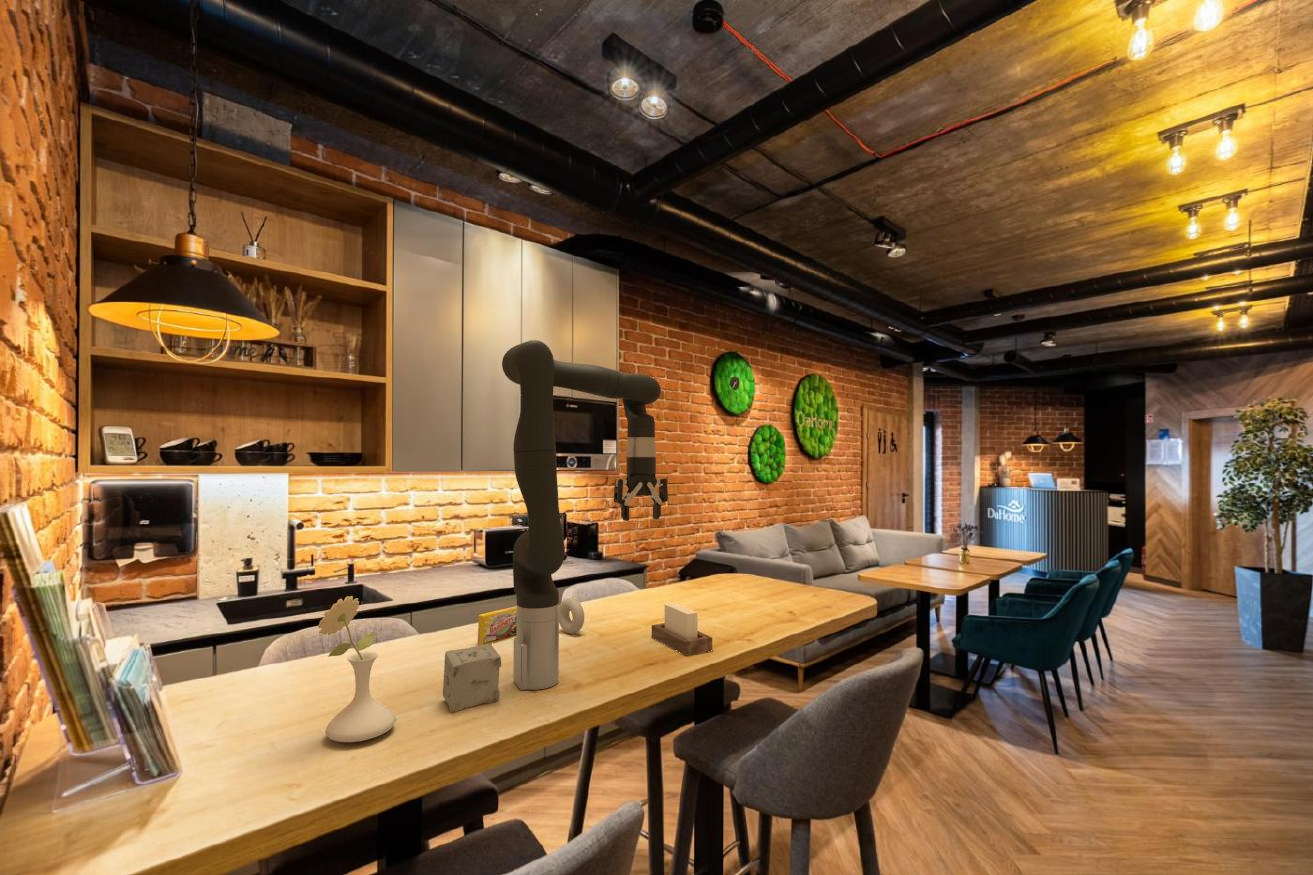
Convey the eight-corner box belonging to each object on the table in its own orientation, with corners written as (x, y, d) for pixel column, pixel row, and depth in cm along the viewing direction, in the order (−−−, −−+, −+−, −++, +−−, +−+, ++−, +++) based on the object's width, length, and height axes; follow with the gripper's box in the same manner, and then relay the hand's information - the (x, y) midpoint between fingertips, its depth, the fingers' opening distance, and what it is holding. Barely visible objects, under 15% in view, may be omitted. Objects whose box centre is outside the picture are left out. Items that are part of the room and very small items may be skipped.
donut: (587, 635, 166) (587, 599, 167) (577, 638, 164) (577, 601, 164) (564, 629, 173) (564, 594, 173) (555, 631, 170) (555, 596, 171)
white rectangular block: (687, 649, 152) (687, 614, 152) (664, 637, 162) (664, 604, 163) (697, 647, 153) (697, 612, 154) (674, 635, 164) (673, 603, 164)
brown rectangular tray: (685, 656, 148) (685, 642, 148) (651, 637, 164) (651, 625, 164) (712, 651, 152) (712, 637, 152) (676, 633, 168) (676, 621, 168)
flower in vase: (378, 715, 114) (380, 584, 115) (408, 732, 107) (410, 592, 108) (303, 739, 104) (307, 596, 105) (331, 760, 97) (334, 605, 98)
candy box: (481, 647, 156) (482, 615, 156) (476, 646, 157) (477, 614, 158) (529, 633, 169) (529, 604, 169) (524, 632, 170) (524, 603, 170)
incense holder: (452, 715, 114) (452, 661, 114) (441, 701, 121) (442, 649, 121) (502, 704, 119) (502, 652, 119) (489, 690, 126) (489, 641, 126)
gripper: (622, 455, 143) (622, 522, 142) (672, 455, 150) (673, 519, 149) (609, 455, 150) (609, 520, 149) (658, 456, 157) (658, 517, 156)
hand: (641, 519), depth 149 cm, fingers open, 8 cm apart
